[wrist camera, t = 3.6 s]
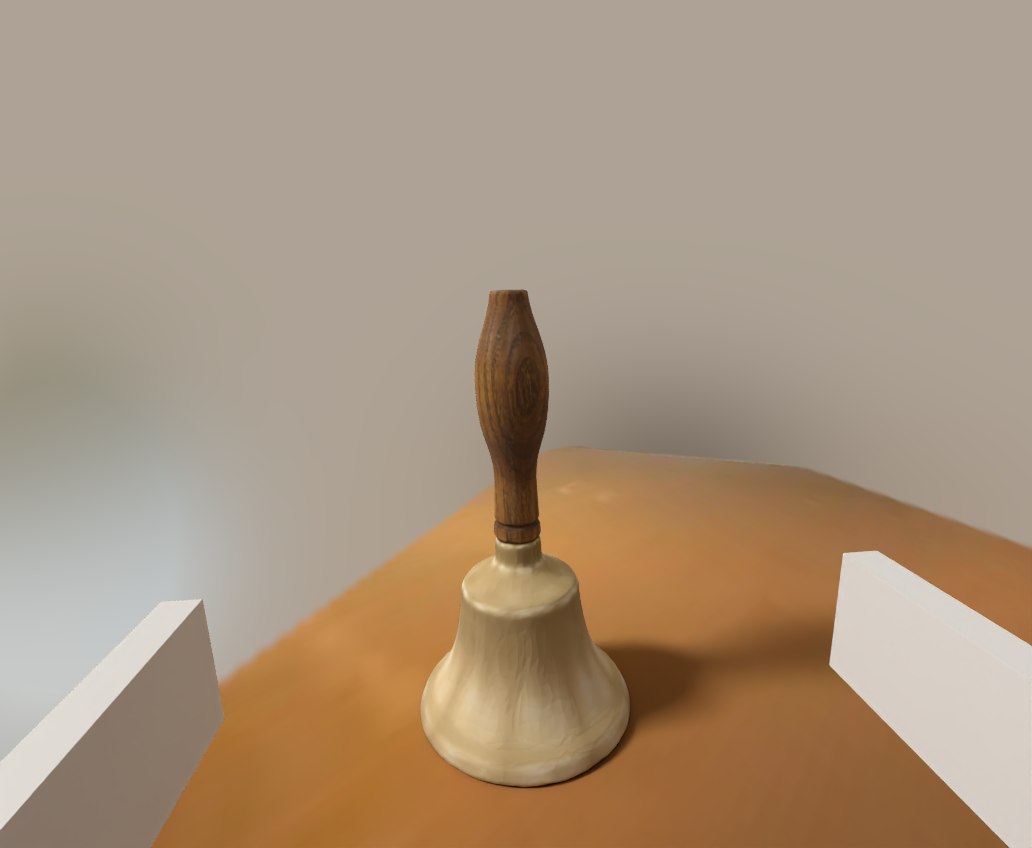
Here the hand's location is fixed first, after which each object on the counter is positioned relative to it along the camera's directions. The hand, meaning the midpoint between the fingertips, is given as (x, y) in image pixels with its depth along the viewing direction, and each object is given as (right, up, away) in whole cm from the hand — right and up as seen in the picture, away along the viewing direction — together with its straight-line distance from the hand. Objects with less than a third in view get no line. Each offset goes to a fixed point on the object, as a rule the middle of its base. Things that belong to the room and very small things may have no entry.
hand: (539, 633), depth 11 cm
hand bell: (0, -7, +11) cm, 13 cm away
